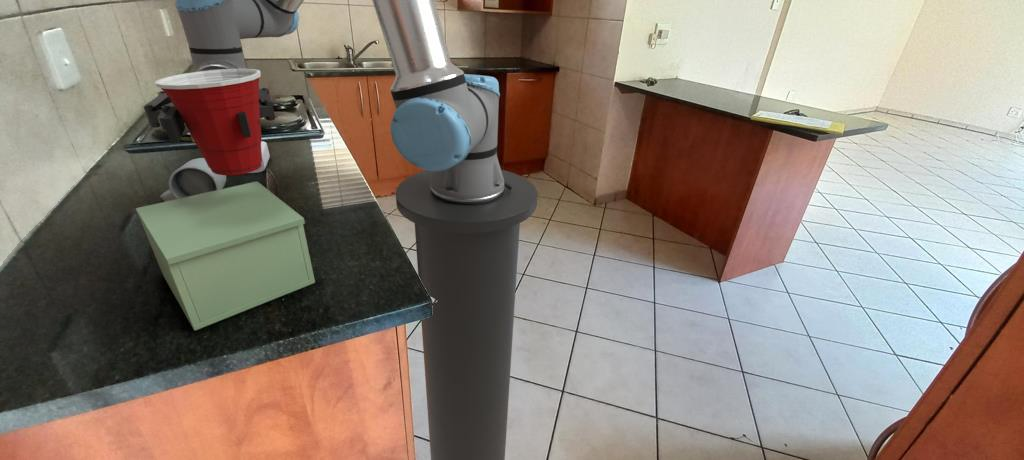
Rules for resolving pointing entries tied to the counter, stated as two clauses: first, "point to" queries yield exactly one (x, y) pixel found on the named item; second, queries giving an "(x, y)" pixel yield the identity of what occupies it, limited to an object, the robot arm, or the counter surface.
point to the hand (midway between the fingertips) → (208, 128)
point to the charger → (263, 157)
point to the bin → (238, 275)
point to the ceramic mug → (193, 180)
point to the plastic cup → (220, 116)
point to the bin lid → (215, 220)
